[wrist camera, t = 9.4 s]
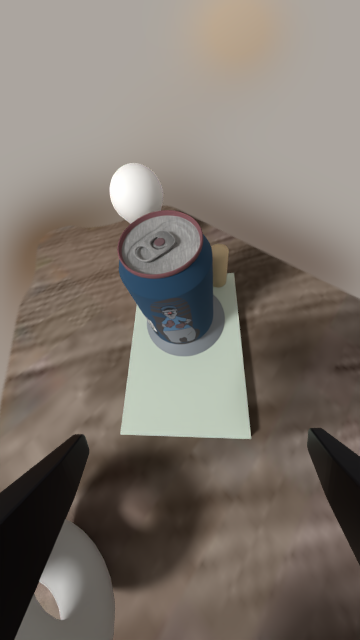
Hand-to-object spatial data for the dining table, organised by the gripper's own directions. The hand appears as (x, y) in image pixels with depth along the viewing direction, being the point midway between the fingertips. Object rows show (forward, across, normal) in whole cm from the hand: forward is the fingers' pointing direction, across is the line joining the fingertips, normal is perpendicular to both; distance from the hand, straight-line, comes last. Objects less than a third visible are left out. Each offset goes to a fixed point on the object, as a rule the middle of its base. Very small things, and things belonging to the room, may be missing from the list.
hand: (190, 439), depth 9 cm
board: (+16, +2, +4) cm, 16 cm away
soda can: (+17, +2, +1) cm, 17 cm away
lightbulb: (+27, +6, -8) cm, 29 cm away
